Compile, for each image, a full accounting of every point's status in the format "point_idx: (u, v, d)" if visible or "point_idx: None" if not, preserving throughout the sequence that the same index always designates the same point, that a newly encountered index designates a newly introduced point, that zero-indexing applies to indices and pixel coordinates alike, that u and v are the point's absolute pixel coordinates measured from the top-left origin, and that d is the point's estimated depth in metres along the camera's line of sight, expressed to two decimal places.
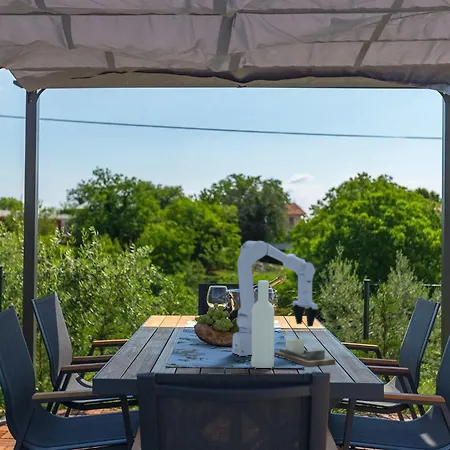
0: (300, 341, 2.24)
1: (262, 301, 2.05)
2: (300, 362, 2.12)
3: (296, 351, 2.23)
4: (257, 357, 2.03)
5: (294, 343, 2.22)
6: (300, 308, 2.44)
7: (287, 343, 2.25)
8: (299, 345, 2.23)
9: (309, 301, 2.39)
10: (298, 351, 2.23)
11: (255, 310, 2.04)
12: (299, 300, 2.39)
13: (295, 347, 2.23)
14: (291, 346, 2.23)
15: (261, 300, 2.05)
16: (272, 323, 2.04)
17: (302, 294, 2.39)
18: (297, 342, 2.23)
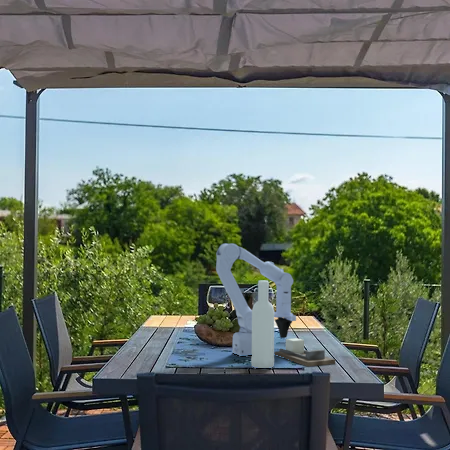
0: (300, 341, 2.24)
1: (262, 301, 2.05)
2: (300, 362, 2.12)
3: (296, 351, 2.23)
4: (257, 357, 2.03)
5: (294, 343, 2.22)
6: None
7: (287, 343, 2.25)
8: (299, 345, 2.23)
9: (288, 313, 2.31)
10: (298, 351, 2.23)
11: (255, 310, 2.04)
12: (277, 312, 2.31)
13: (295, 347, 2.23)
14: (291, 346, 2.23)
15: (261, 300, 2.05)
16: (272, 323, 2.04)
17: (280, 305, 2.31)
18: (297, 342, 2.23)
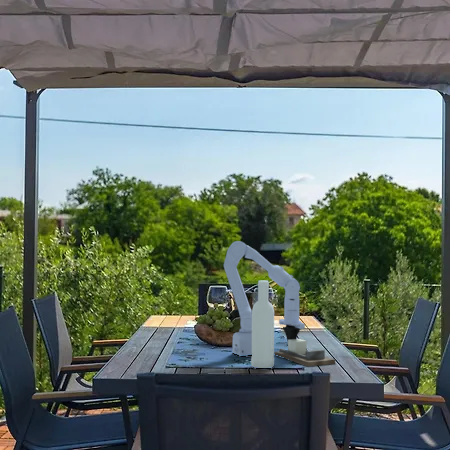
0: (303, 342, 2.22)
1: (262, 301, 2.05)
2: (300, 362, 2.12)
3: (299, 352, 2.21)
4: (257, 357, 2.03)
5: (297, 344, 2.21)
6: None
7: (289, 344, 2.24)
8: (302, 346, 2.22)
9: (296, 320, 2.25)
10: (301, 352, 2.22)
11: (255, 310, 2.04)
12: (285, 319, 2.26)
13: (298, 348, 2.21)
14: (293, 347, 2.22)
15: (261, 300, 2.05)
16: (272, 323, 2.04)
17: (289, 313, 2.25)
18: (300, 343, 2.22)
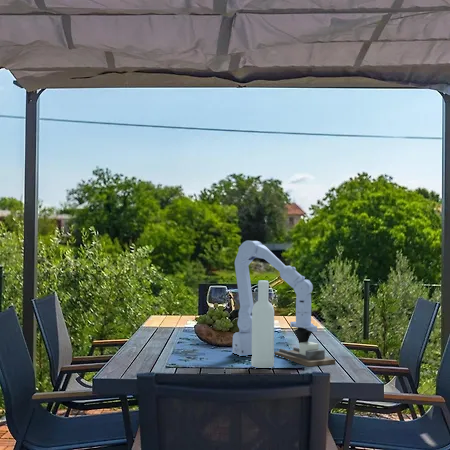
0: (314, 345, 2.16)
1: (262, 301, 2.05)
2: (300, 362, 2.12)
3: None
4: (257, 357, 2.03)
5: (308, 347, 2.14)
6: (304, 331, 2.21)
7: (301, 347, 2.17)
8: (313, 349, 2.15)
9: (308, 323, 2.18)
10: None
11: (255, 310, 2.04)
12: (297, 322, 2.19)
13: None
14: (305, 350, 2.15)
15: (261, 300, 2.05)
16: (272, 323, 2.04)
17: (300, 315, 2.18)
18: (311, 346, 2.15)
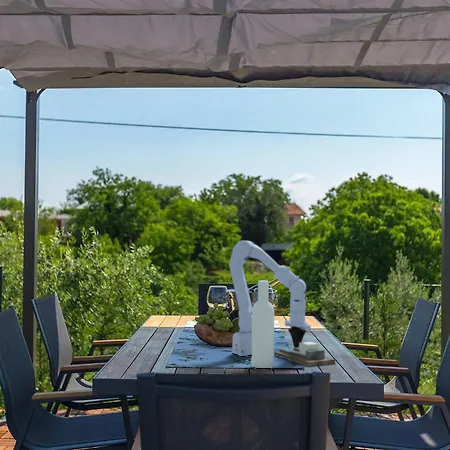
0: (314, 345, 2.16)
1: (262, 301, 2.05)
2: (300, 362, 2.12)
3: None
4: (257, 357, 2.03)
5: (308, 347, 2.14)
6: None
7: (301, 347, 2.17)
8: (313, 349, 2.15)
9: (302, 322, 2.22)
10: None
11: (255, 310, 2.04)
12: (291, 321, 2.23)
13: None
14: (305, 350, 2.15)
15: (261, 300, 2.05)
16: (272, 323, 2.04)
17: (294, 314, 2.22)
18: (311, 346, 2.15)
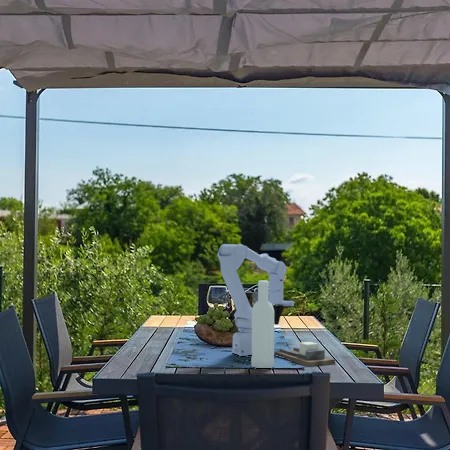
0: (314, 345, 2.16)
1: (262, 301, 2.05)
2: (300, 362, 2.12)
3: None
4: (257, 357, 2.03)
5: (308, 347, 2.14)
6: None
7: (301, 347, 2.17)
8: (313, 349, 2.15)
9: None
10: None
11: (255, 310, 2.04)
12: (279, 299, 2.37)
13: None
14: (305, 350, 2.15)
15: (261, 300, 2.05)
16: (272, 323, 2.04)
17: (281, 293, 2.38)
18: (311, 346, 2.15)
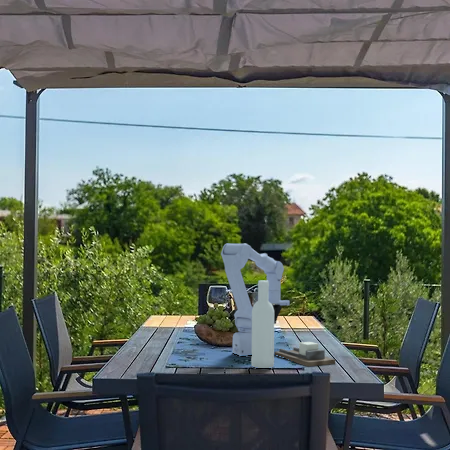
0: (314, 345, 2.16)
1: (262, 301, 2.05)
2: (300, 362, 2.12)
3: None
4: (257, 357, 2.03)
5: (308, 347, 2.14)
6: None
7: (301, 347, 2.17)
8: (313, 349, 2.15)
9: None
10: None
11: (255, 310, 2.04)
12: (277, 299, 2.39)
13: None
14: (305, 350, 2.15)
15: (261, 300, 2.05)
16: (272, 323, 2.04)
17: (279, 292, 2.40)
18: (311, 346, 2.15)
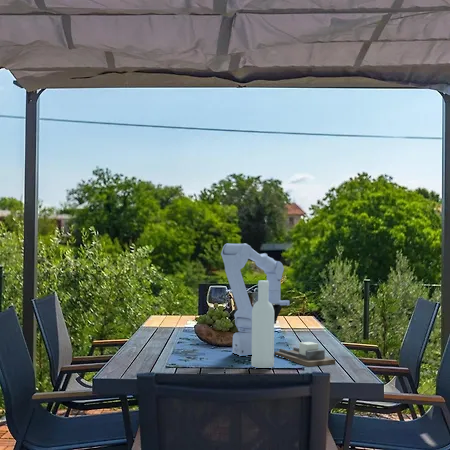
0: (314, 345, 2.16)
1: (262, 301, 2.05)
2: (300, 362, 2.12)
3: None
4: (257, 357, 2.03)
5: (308, 347, 2.14)
6: None
7: (301, 347, 2.17)
8: (313, 349, 2.15)
9: None
10: None
11: (255, 310, 2.04)
12: (277, 299, 2.39)
13: None
14: (305, 350, 2.15)
15: (261, 300, 2.05)
16: (272, 323, 2.04)
17: (279, 292, 2.40)
18: (311, 346, 2.15)
